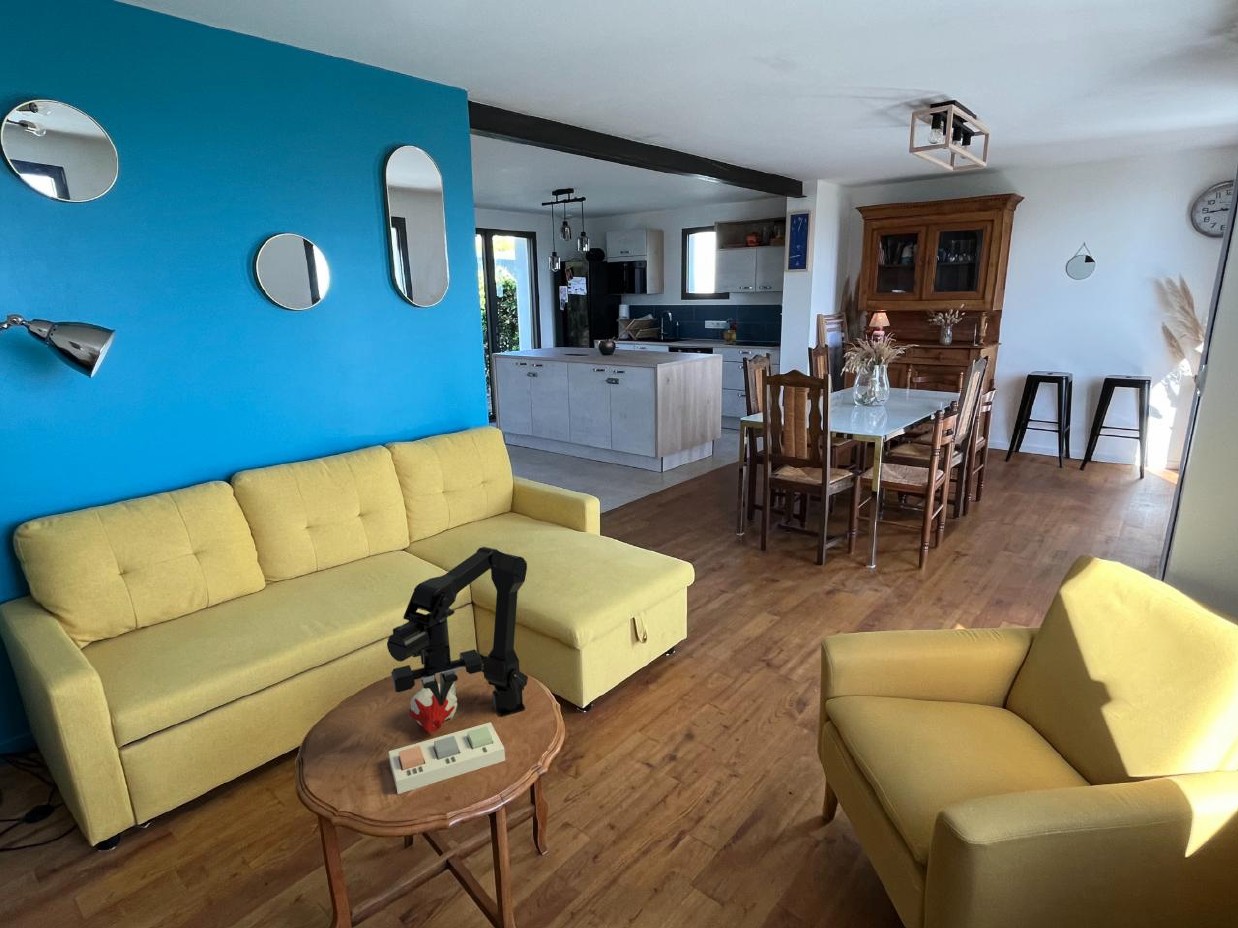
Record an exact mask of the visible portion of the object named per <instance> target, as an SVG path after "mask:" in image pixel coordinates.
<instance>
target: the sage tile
mask: <svg viewBox="0 0 1238 928" xmlns="http://www.w3.org/2000/svg"><path fill="white" fill-rule="evenodd" d="M468 741H469V743H470V745H471V748H472V750H473V749H476V748H479V747H483V746H486V745H489V744H492V736H491V734H490V732H489V730H488V728H487V726H486V727H482V728H479V729H475V730H472V731H468Z"/></svg>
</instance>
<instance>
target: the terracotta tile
mask: <svg viewBox="0 0 1238 928" xmlns="http://www.w3.org/2000/svg"><path fill="white" fill-rule="evenodd" d="M399 758H400V763H401V766H402V770H406V769H409V768H413V767H416V766H419V765H423V764H424V758H423V754H422V751H421V748H420V746H416V747H413V748H409V749H406V750H402V751H399Z"/></svg>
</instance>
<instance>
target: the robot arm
mask: <svg viewBox="0 0 1238 928" xmlns="http://www.w3.org/2000/svg"><path fill="white" fill-rule="evenodd" d="M527 562H528V561H526V559H525V558H524V557H522V556H519V555H515V554H509V553H505V552H502V551H499V550H498V549H497V548H492V547H487V546H481V547H478V549H477V550H476V552H475V553H473V554H472V555H471V556H469V557H468V558H466V559H465V560H463V561H462V562H460V563H459V564H458V565H456V566H455V567H454V568H452V569H451V570H450V571H448V572H446V573H445V574H443V575H440V576H436V577H431V578H428V579H426V580H424V581H422V582H420V583H419V584H417V585H416V586H415V587H414V589H413V593H412V594H411V597H410V600H409V602H408V604H407V606H406V610H405V612H404V614H403V616H402V618H403V619H404V620H406V621H407V622H406V623H405V622H404V623H403V624H402V625H401V624H400V625H398V626H396V627H394V628H392V634H391V635H390V636H388V640H387V642H386V646H387V647H386V648H387V650H388V652H389V654H390V656H391V657H392V658H393V659H394V660H395V661H397V662H403V661H406V660H408V659H409V658H411V657H412V658H418V657H420V663H421V665H422V666H423V668H418V669H413V670H412V668H411V665H410V664H408V665H404V666H400V667H395V668H393V669H392V671H391V672H390V675H391V682H392V685H393V688H394V690H395V691H394V692H396V693H401V692H406V691H409V690H412V689H413V688H414V687H415V685H416V682H415V680H420V681H421V685H422V688H425V689H427V688H429V689H430V690H431V691H432V693H433V694H434V696H435V698H436V700H437V702H438V704H439V706H443V705H444V702H445V700H446V697H447V694H448V692H449V690H450V688H451V686H452V684H453V682H454V683H455V682H458V680H459V678H458V674H457V670H461V669H464V668H465V672H466V673H468V674H469V675H473V674H476V673H477V674H478V673H480V672H482V673H483V678H484V679H485V681H487V683H488V685H489V686H493V689H494V690H493V691H492V694H491V695H492V704H493V705H492V706H493V708H494V709H495V711H496V712H497V713H498V715H499V716H500V717H504V716H507V715H511V714H515V713H517V712H521V711H525V710H526V706H525V705H524V702H523V701H524V700H523V699H524V698H523V691H524V690H525V687H526V686H527V685H528V680H529V676H528V675H526V674H525V673H523V672H522V671H520V660H519V658H518V656H517V653H516V651H515V635H516V632H515V631H516V620H517V618H516V617H517V607H518V606H517V605H518V593H519V590H520V589H521V587H522V586H523V584H524V583H525V582H526V575H527V570H528V563H527ZM489 570H490V572H491V573H490V574H491V576H490V577H491V581H492V584H493V585H494V588H495V589H496V600H495V613H494V614H495V616H494V617H495V618H494V630H493V631H494V632H493V642H492V643H493V645H492V649H491V651H490V652H489V654H488V655H486V656H484V657H482V656H481V655H480V653H479V652H478V651H477V650H476V649H471V650H467V651H462V652H459V654H458V655H459V659H455V660H453V659H451V648H450V647H451V646H450V639H449V638H450V637H449V634H450V633H449V625H448V624H449V623H448V622H449V621H448V618H449V617H451V616H452V615H454V614H455V613H456V612H455V610H453V609H452V608H450V607H451V606H452V605H453V604H454V603H455V602H456V599H457V596H458V594H459V593H460V591H461V592H462V591H463V590H464V589H465V588H466V587H468V586H470V585H471V583H473V582H474V581H476V580H477V579H479V578H480V577H481V576H483V575H484V574H485V573H486V572H488V571H489ZM418 610H420V611H424V612H427V613H425V614H424V613H421V612H418ZM436 675H439V682H437V678H436ZM438 683H440V692H439V687H438Z"/></svg>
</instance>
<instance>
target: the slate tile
mask: <svg viewBox="0 0 1238 928" xmlns="http://www.w3.org/2000/svg"><path fill="white" fill-rule="evenodd" d="M434 748H435V752H436V755H437V758H438V760H439V759H443V758H446V757H449V756H453V755H456V754H459V748H458V745H457V742H456V740H455V737H454V736H451V737H447V738H444V739H440V740H437V741H434Z"/></svg>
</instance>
